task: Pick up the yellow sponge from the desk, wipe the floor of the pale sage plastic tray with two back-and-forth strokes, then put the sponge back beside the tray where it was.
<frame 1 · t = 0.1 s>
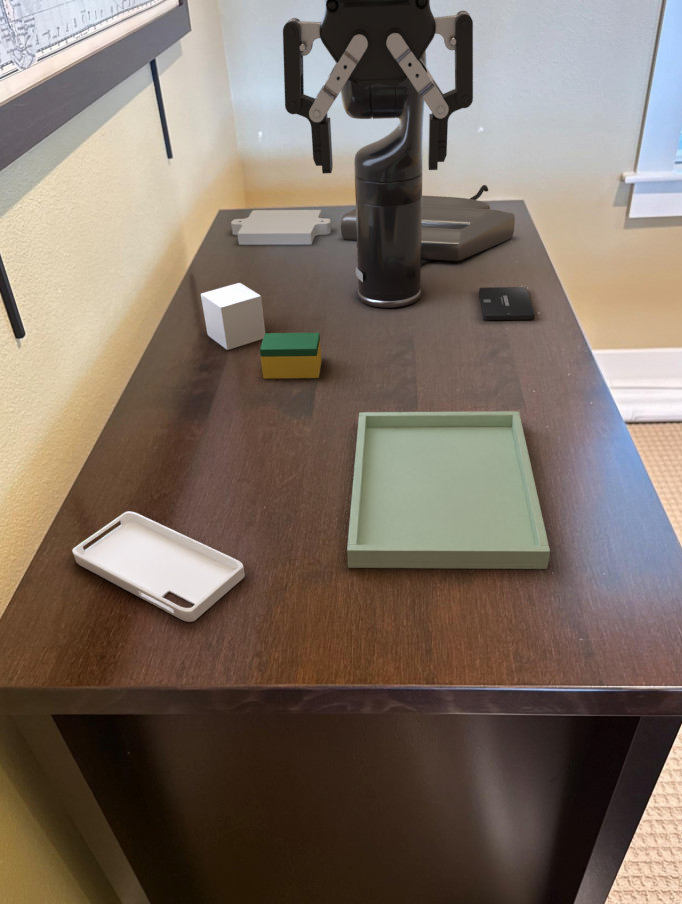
hand: (379, 169, 63), 29 cm above the table, tool pointing down, fingers open, 8 cm apart
sponge: (292, 369, 99), on the table
phone case: (159, 569, 70), on the table
tray: (441, 490, 78), on the table
white cube: (236, 337, 107), on the table
mounting plate: (281, 233, 140), on the table
grey contoured platform: (426, 239, 135), on the table
solid state drive: (505, 306, 112), on the table
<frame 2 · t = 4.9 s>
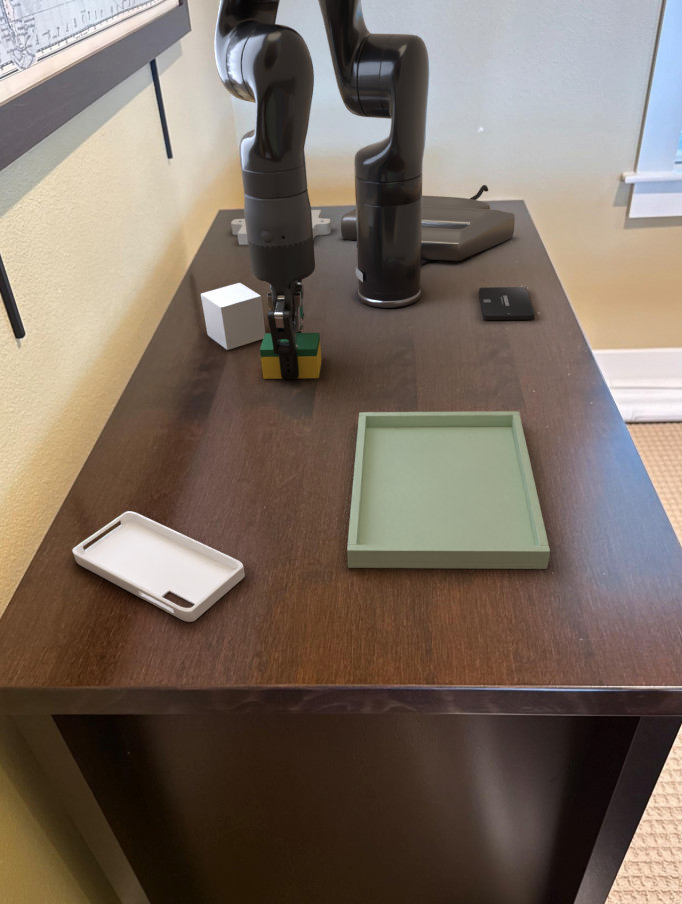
hand: (292, 367, 99), 0 cm above the table, tool pointing down, fingers closed on sponge, 4 cm apart
sponge: (292, 370, 99), on the table, touching gripper
everything else where it was.
when the fingers open (0 cm above the table, at t = 22.7 s): sponge stays where it is, on the table.
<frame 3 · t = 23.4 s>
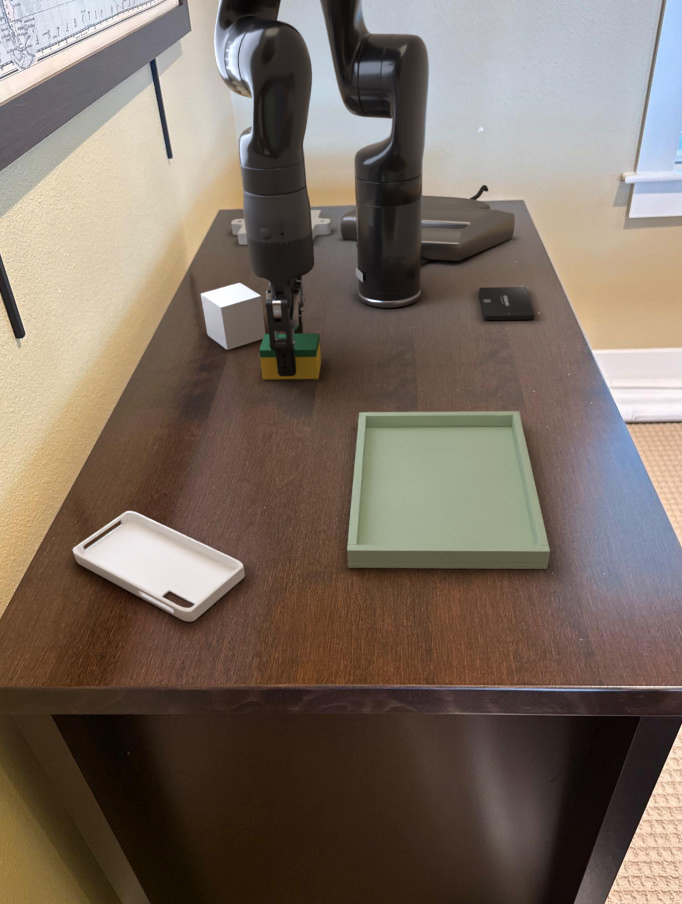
hand: (291, 358, 98), 1 cm above the table, tool pointing down, fingers open, 8 cm apart
sponge: (292, 370, 99), on the table
everything else where it was.
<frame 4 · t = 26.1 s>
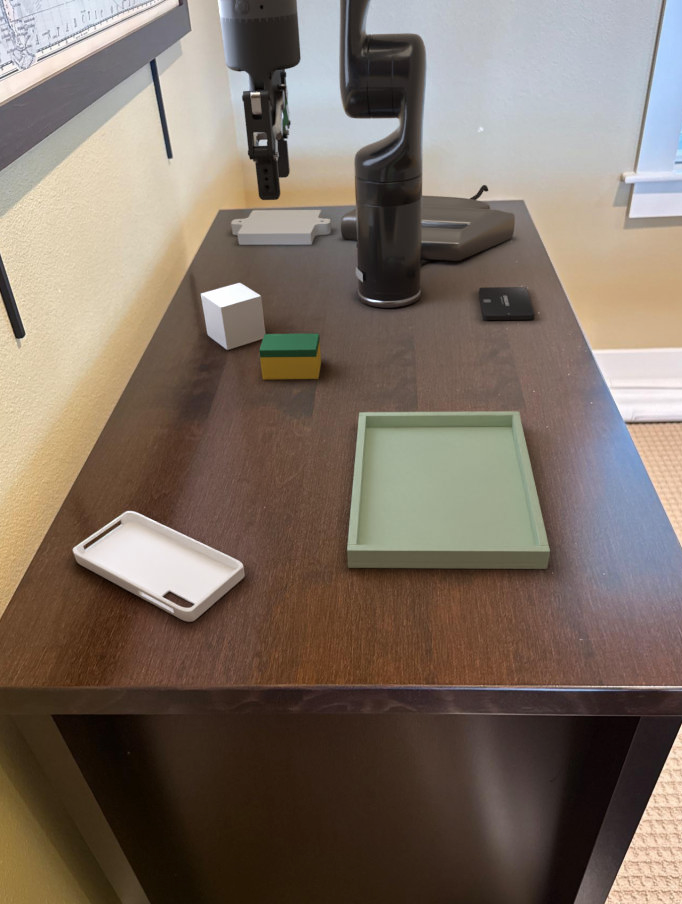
hand: (275, 187, 85), 22 cm above the table, tool pointing down, fingers open, 8 cm apart
nothing on the table moved.
at the end: sponge tilted 0°; the gripper is holding nothing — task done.
